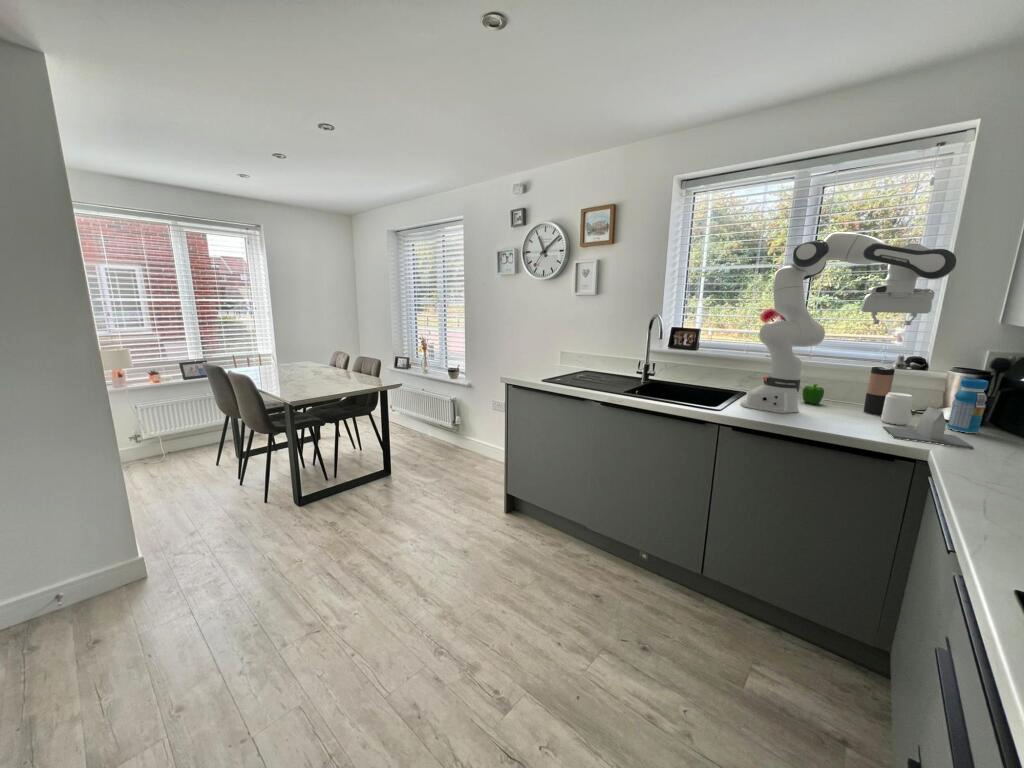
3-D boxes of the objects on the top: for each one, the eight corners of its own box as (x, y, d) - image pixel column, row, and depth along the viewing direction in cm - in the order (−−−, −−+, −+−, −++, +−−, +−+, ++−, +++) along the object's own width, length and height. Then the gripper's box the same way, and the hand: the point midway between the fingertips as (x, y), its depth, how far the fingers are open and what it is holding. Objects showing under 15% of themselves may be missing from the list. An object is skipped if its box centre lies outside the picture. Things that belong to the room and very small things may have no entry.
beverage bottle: (947, 431, 155) (960, 379, 151) (944, 426, 162) (957, 376, 157) (980, 436, 150) (994, 382, 146) (976, 430, 156) (989, 379, 152)
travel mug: (866, 414, 178) (876, 368, 173) (859, 409, 184) (868, 366, 180) (888, 416, 175) (898, 370, 171) (880, 411, 182) (890, 367, 178)
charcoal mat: (893, 438, 145) (894, 436, 145) (882, 428, 157) (883, 426, 157) (973, 449, 136) (973, 446, 135) (954, 437, 148) (955, 435, 147)
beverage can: (913, 426, 160) (919, 397, 157) (889, 425, 161) (895, 395, 159) (898, 421, 168) (904, 392, 165) (875, 419, 169) (881, 391, 167)
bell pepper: (801, 400, 201) (805, 380, 199) (822, 403, 196) (826, 382, 194) (800, 403, 195) (803, 382, 193) (821, 406, 190) (825, 385, 188)
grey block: (929, 438, 143) (936, 411, 141) (916, 432, 149) (922, 406, 147) (942, 439, 142) (949, 412, 140) (928, 433, 148) (934, 407, 146)
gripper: (932, 289, 155) (924, 325, 158) (863, 288, 165) (856, 323, 168) (939, 288, 149) (930, 326, 152) (867, 288, 159) (860, 323, 162)
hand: (891, 324), depth 160 cm, fingers open, 8 cm apart
